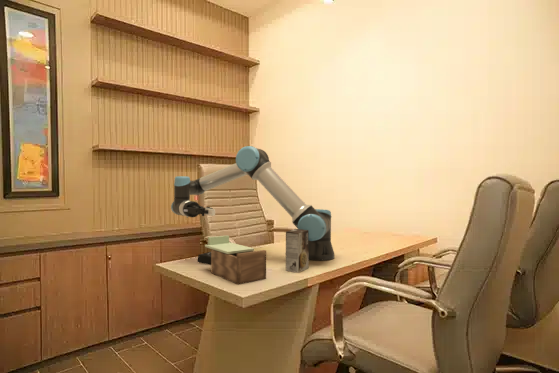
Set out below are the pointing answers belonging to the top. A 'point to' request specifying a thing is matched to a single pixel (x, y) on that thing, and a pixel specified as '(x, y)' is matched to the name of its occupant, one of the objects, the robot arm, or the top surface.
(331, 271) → the top surface
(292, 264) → the coffee box
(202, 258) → the portable cd player
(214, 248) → the lid
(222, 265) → the box
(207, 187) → the robot arm
